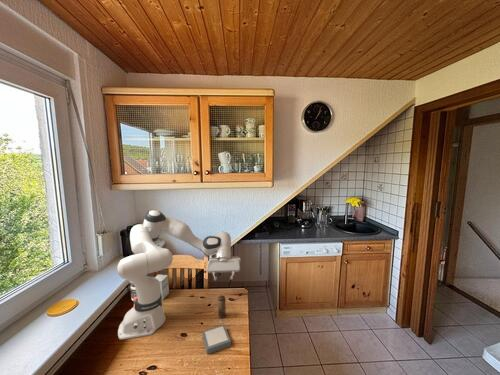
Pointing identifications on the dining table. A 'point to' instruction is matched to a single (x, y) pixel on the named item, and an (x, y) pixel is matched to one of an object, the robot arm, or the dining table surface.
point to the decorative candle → (133, 291)
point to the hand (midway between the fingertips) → (223, 279)
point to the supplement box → (163, 285)
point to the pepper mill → (221, 307)
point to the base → (216, 339)
